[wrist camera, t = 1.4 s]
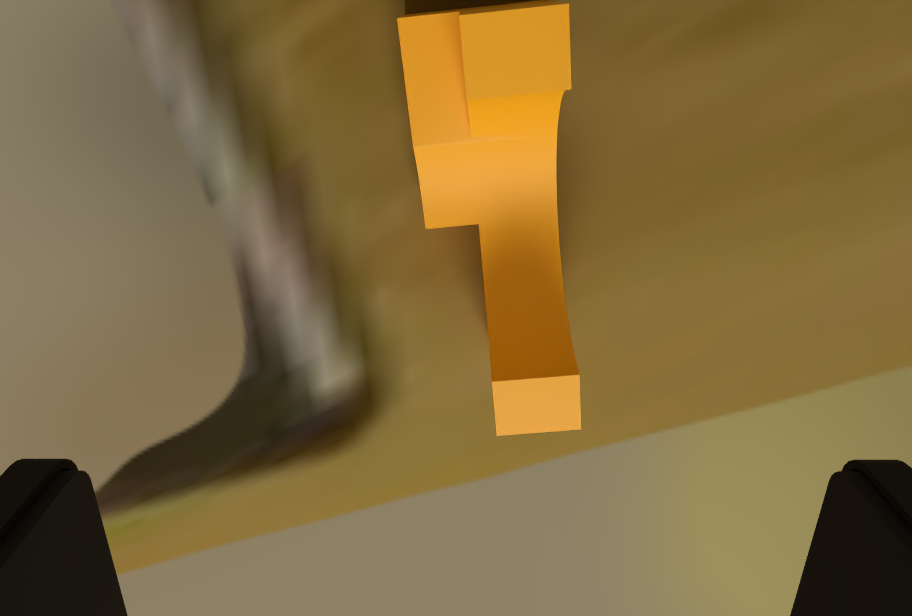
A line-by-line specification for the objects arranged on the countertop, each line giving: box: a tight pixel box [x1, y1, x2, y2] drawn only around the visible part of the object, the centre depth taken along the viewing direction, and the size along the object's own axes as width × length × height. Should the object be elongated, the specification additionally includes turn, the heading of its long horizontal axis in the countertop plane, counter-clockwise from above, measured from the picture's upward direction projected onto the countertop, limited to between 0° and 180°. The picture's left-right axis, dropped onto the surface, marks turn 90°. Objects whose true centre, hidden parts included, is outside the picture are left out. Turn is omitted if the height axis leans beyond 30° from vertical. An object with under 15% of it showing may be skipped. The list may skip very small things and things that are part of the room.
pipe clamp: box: [397, 0, 581, 436], centre depth 22 cm, size 12×4×6 cm, turn 6°
